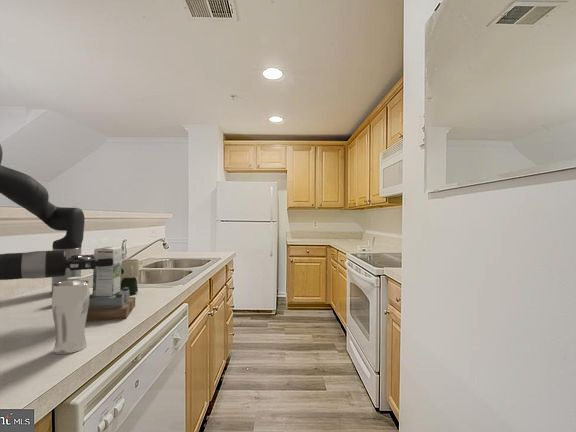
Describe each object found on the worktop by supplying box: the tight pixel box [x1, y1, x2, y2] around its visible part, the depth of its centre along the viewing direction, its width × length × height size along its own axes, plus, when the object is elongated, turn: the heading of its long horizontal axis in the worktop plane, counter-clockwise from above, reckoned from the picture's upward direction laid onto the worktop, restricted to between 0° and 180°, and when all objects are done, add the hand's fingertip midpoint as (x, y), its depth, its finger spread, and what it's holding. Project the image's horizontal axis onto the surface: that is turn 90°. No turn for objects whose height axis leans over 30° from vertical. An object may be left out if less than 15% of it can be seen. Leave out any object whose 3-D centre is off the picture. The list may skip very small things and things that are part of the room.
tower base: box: [86, 287, 136, 323], centre depth 92 cm, size 13×13×7 cm
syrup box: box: [92, 246, 123, 297], centre depth 92 cm, size 6×6×14 cm
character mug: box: [121, 258, 140, 296], centre depth 115 cm, size 11×7×13 cm, turn 36°
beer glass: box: [51, 279, 91, 355], centre depth 68 cm, size 7×7×15 cm
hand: (111, 260), depth 93 cm, fingers open, 8 cm apart
